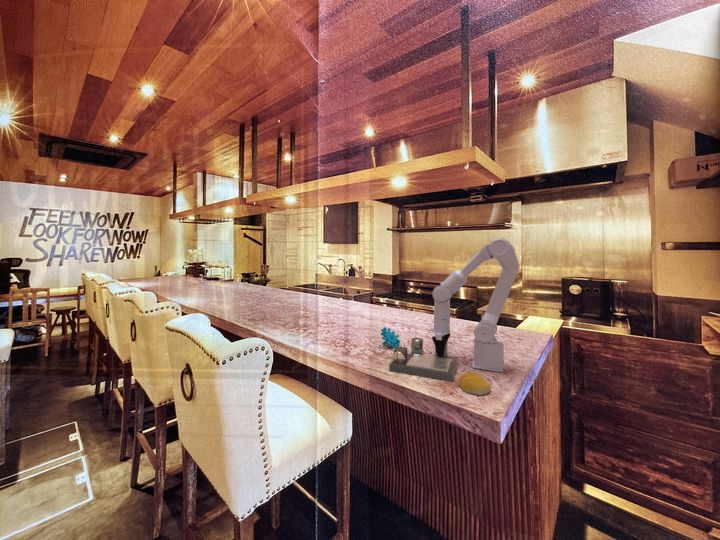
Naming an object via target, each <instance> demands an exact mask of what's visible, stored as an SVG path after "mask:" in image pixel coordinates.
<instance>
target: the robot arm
mask: <svg viewBox="0 0 720 540" xmlns="http://www.w3.org/2000/svg"><path fill="white" fill-rule="evenodd" d="M493 259H496V260H497V262H498V264H499V265H500V267H501V269H502V270H501V272H500V275H499V277H498V280H497V282H496V285H495V287H494V289H493V292H492V294H491V297H490V299H489V301H488V304H487V307H486V310H485V312H484V314H483V316H482V318H481V320H480V321H479V323H478V324H477V325H476V326H475V327H474V329H473V335H474V338H473V341H474V342H473V343H474V344H473V359H472V365H471V368H472V369H478V370H486V371H493V372H500V373H504V365H505V358H504V342H501V341H498V339H497V337H496V336H495V335H496V334H497V332H498V327H497V326H498V324H497V323H498V321H499V319H500V316H501V313H502V311H503V308H504V306H505V304H506V301H507V299H508V296H509V294H510V291H511V289H512V288H513V284H514V282H515V281H516V277H517V275H518V273H519V270H520V263H519V261H518V257H517V254H516V250H515V247H514V246H513V245H512V243H510V241H509V240H507V239H506V238H504V237H496V238H493V239H492V240H491V241H490V242H489V244H486V245H484V246H483V247H481V249H480V250H478V251H477V253H475V255H474V256H473V257H472V258H471V259H469V261H468V262H467V263H466V264H465V265H464V266H463V267H461V269H460V270H457V269H456V270H454V271H450V272H449V273H448V275H449V276H447V277H446V278H445V279H444V281H441V282H440V283H439V285H437V286H436V287H434V289H433V290H432V298H433V300H434V305H433V328H429V329H430V330H429V331H430V332H433V333H434V335H435V336H434V335H432V337H431V338H432V339H431V340H432V342H433V344H434V349H435V348H436V353H437V356H439V357H443V355H444V351H445V346H446V343H447V342H448V341H449V338H450V337H451V329H450V328H451V327H450V325H451V298H452V297H453V295H454V294H455V293H456V292H458V291H459V290H461V288H462V287H463V286H464V285H465V284H466V283H467V282H468V276H469V275H471V274H472V273H473V272H474V271H475V270H476V269H477V268H479V267H480V266H481V265H482V264H483V263H484V262H486V261H490V260H493Z"/></svg>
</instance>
